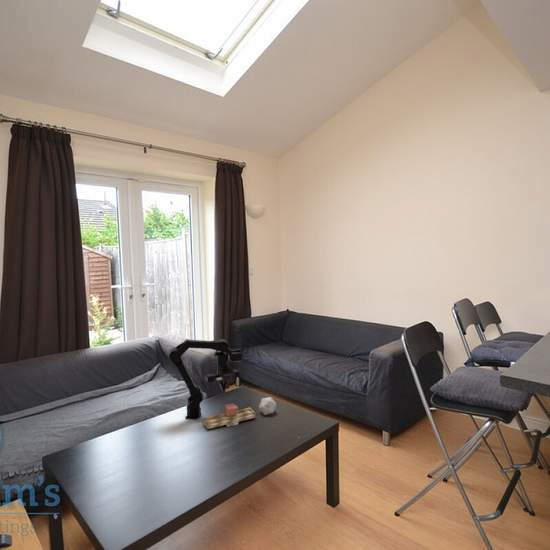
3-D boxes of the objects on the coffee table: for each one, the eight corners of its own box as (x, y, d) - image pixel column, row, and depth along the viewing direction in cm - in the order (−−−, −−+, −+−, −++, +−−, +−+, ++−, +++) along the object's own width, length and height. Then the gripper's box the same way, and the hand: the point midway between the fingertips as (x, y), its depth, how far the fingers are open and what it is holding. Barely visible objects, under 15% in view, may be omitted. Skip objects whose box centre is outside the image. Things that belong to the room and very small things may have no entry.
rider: (228, 419, 183) (228, 409, 183) (224, 415, 189) (224, 405, 188) (237, 417, 186) (237, 407, 185) (233, 413, 191) (233, 403, 191)
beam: (208, 431, 176) (207, 424, 176) (202, 423, 185) (202, 416, 185) (256, 420, 188) (256, 412, 188) (248, 412, 197) (248, 405, 197)
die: (255, 414, 196) (260, 404, 190) (260, 401, 203) (264, 391, 197) (270, 420, 196) (275, 410, 190) (274, 406, 203) (279, 396, 197)
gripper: (210, 369, 185) (211, 399, 186) (244, 364, 194) (244, 392, 194) (204, 363, 195) (204, 392, 196) (236, 359, 203) (236, 386, 204)
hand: (223, 390), depth 197 cm, fingers closed
